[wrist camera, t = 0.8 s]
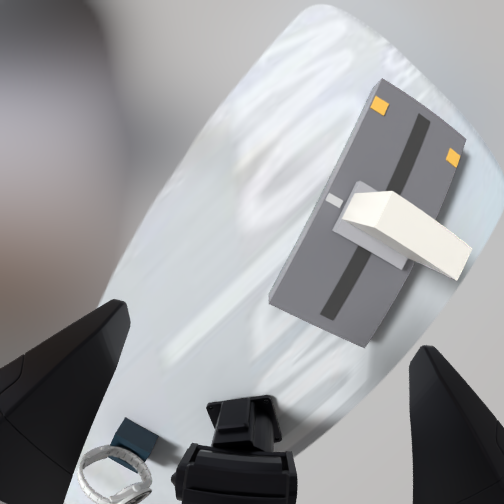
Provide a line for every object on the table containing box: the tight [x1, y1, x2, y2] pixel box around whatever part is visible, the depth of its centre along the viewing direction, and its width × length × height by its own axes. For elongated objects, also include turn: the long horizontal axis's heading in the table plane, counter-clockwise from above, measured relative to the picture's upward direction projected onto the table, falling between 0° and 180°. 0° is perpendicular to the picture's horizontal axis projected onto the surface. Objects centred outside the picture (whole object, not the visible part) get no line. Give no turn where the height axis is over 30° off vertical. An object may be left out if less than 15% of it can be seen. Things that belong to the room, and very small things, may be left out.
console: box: [269, 78, 466, 348], centre depth 22 cm, size 20×9×3 cm, turn 153°
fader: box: [332, 181, 472, 281], centre depth 17 cm, size 4×6×8 cm, turn 63°
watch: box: [77, 417, 158, 504], centre depth 24 cm, size 6×8×11 cm
